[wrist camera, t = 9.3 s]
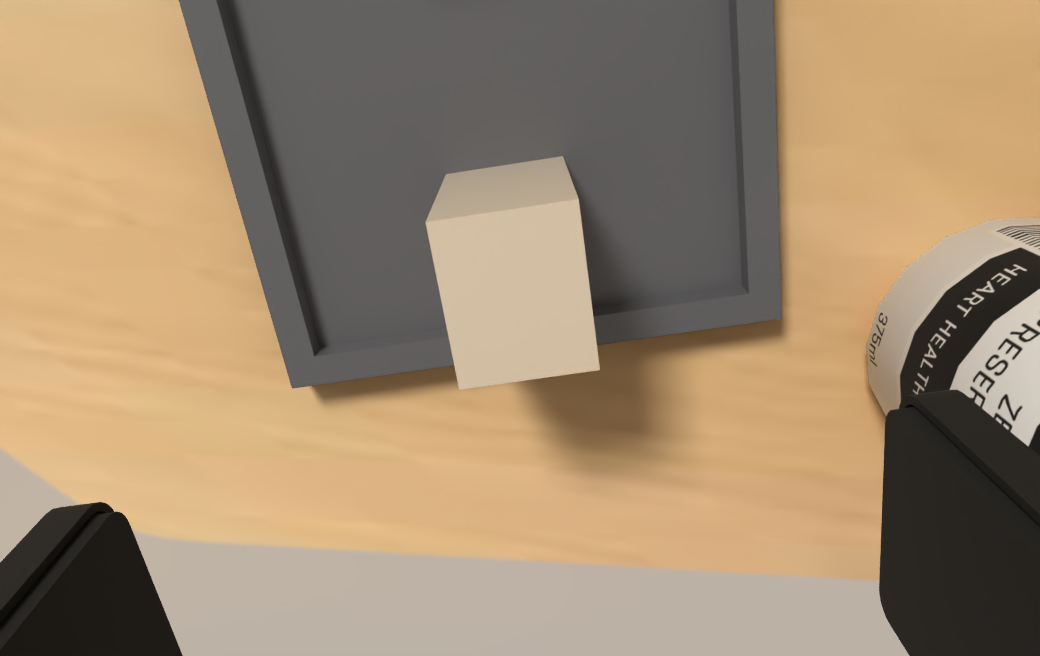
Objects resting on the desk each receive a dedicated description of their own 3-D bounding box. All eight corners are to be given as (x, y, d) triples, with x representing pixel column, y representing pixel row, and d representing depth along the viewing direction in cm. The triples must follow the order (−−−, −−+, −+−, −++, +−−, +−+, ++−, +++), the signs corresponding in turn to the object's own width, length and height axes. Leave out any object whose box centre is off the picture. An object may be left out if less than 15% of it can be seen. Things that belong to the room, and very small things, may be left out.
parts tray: (753, -183, 20) (768, -195, 19) (770, 305, 26) (781, 318, 25) (172, -82, 21) (153, -88, 20) (301, 372, 26) (291, 388, 25)
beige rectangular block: (562, 156, 23) (578, 198, 18) (580, 291, 25) (599, 370, 19) (446, 174, 24) (425, 222, 18) (471, 307, 25) (459, 389, 20)
